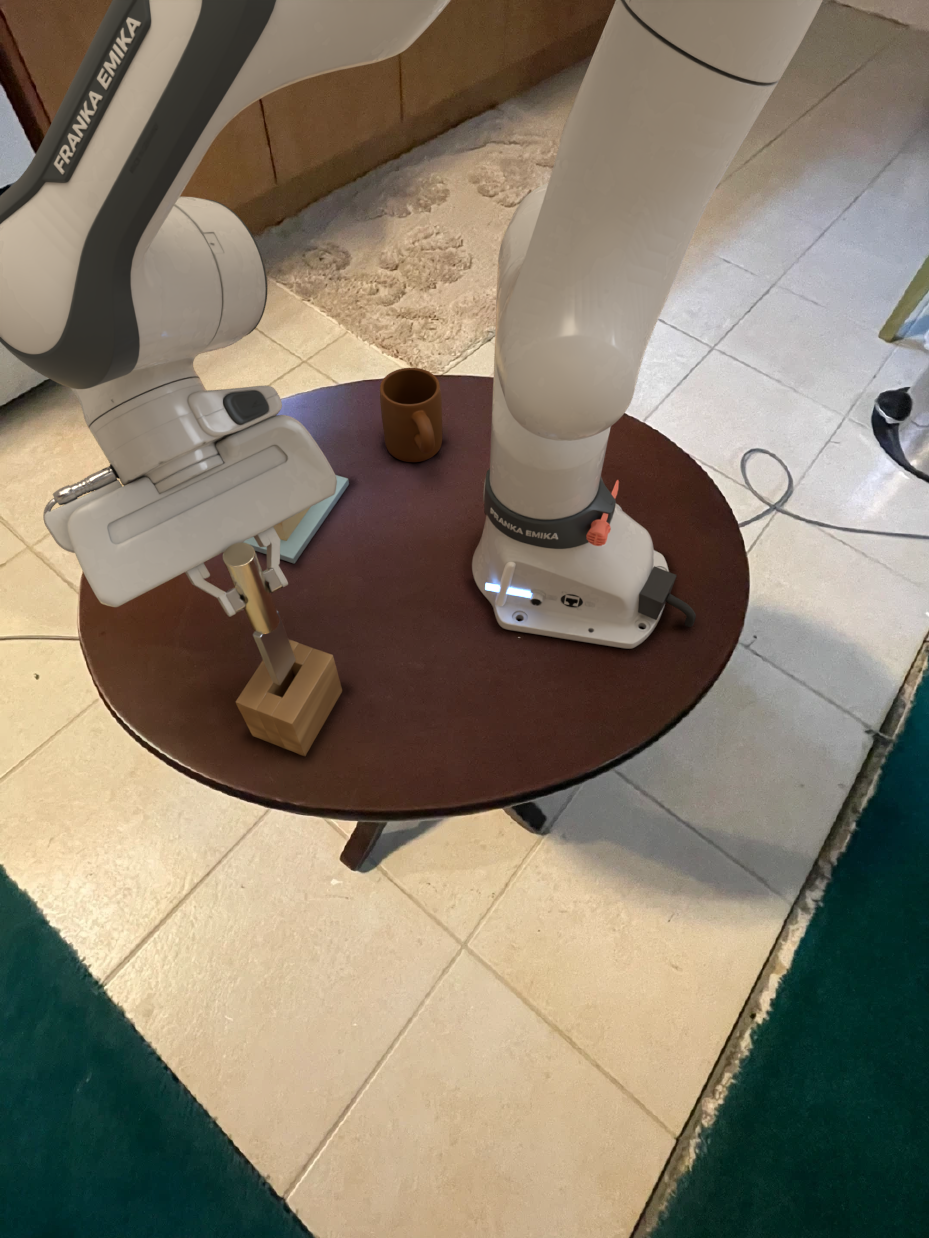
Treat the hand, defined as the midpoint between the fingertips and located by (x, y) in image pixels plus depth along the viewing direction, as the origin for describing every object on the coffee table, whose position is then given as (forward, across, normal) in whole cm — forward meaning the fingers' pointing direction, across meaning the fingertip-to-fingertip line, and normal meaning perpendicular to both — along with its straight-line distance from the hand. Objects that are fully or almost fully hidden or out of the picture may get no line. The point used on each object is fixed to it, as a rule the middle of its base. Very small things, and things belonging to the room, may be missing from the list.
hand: (258, 600), depth 61 cm
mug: (-3, +31, +32) cm, 45 cm away
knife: (+8, 0, +9) cm, 12 cm away
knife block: (+14, 0, +15) cm, 20 cm away
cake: (-6, +11, +34) cm, 37 cm away
